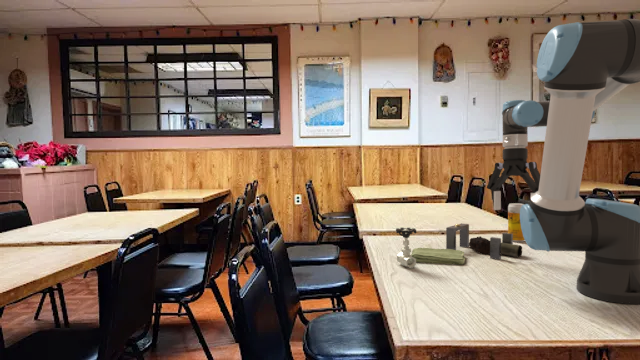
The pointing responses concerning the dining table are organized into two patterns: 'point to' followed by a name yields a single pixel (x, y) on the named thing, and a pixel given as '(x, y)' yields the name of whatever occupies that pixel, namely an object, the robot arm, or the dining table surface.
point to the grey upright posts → (464, 239)
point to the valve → (406, 248)
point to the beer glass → (515, 222)
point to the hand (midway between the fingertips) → (515, 211)
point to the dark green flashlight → (484, 247)
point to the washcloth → (438, 256)
